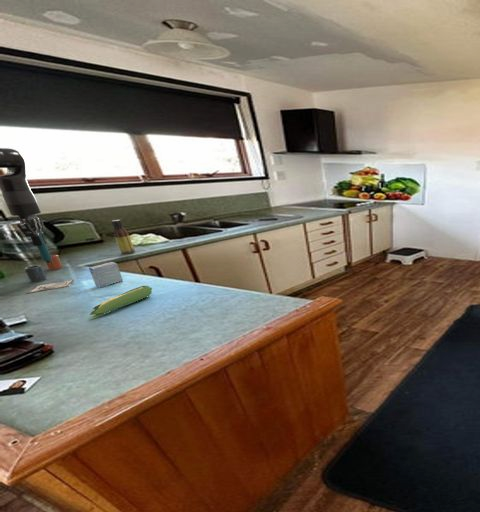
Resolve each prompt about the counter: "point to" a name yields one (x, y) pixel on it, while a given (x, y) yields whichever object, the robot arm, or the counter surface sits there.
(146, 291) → the edible corn
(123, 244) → the sauce bottle
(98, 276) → the medicine box
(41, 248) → the marker
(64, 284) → the beige cloth
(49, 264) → the pen cup
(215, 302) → the counter surface
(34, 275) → the stand
